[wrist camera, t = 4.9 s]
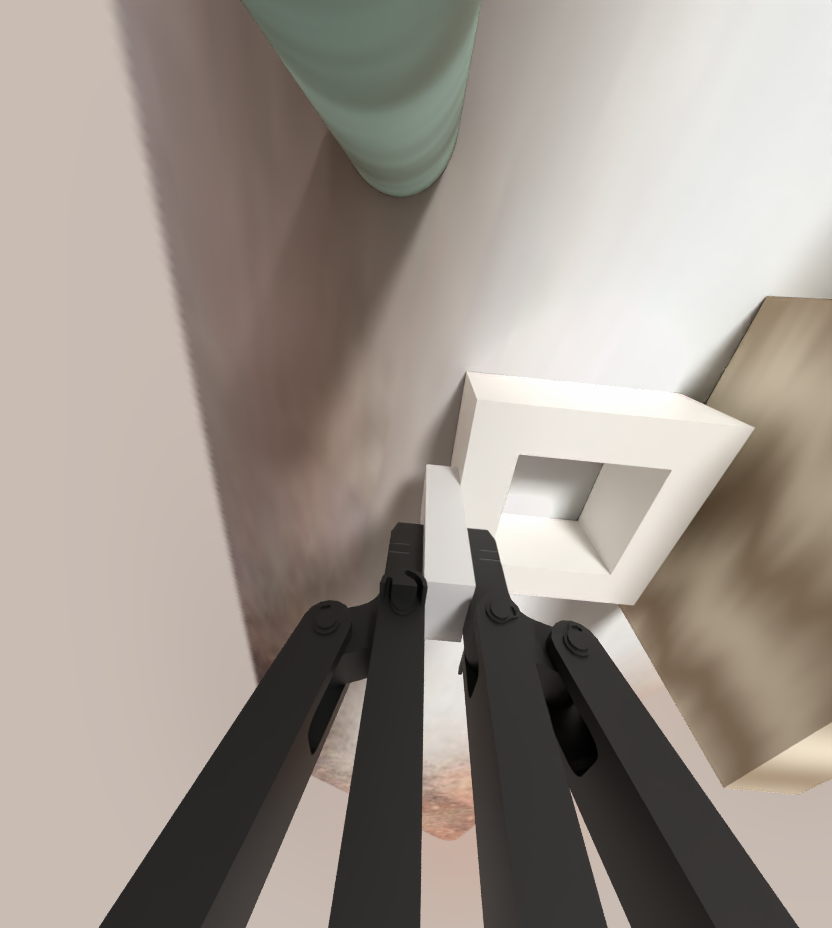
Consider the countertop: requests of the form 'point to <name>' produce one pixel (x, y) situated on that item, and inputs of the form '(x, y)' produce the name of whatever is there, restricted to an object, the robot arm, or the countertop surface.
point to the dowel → (380, 78)
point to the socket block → (615, 491)
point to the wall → (758, 568)
